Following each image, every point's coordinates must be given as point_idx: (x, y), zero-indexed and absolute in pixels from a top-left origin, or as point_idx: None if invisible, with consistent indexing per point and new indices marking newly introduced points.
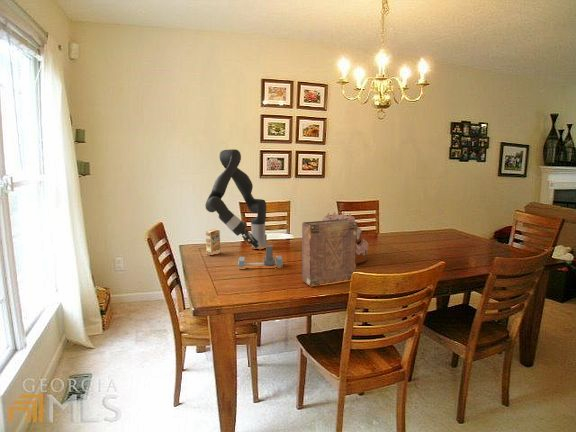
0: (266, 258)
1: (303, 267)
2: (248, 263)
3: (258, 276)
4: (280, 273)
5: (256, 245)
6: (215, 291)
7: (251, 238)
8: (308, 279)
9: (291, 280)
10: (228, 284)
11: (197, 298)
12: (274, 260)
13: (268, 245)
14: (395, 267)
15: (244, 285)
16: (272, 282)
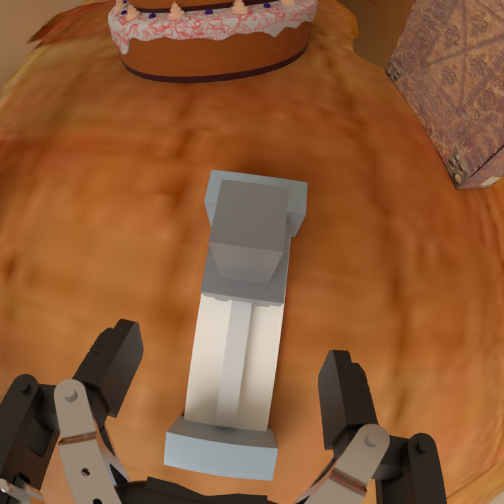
0: (269, 280)
1: (495, 161)
2: (226, 406)
3: (401, 355)
4: (374, 238)
5: (362, 378)
6: (474, 481)
7: (372, 474)
8: (494, 178)
9: (448, 218)
10: (445, 466)
11: (487, 500)
12: (290, 230)
13: (231, 217)
14: (319, 5)
15: (471, 407)
16: (466, 296)
